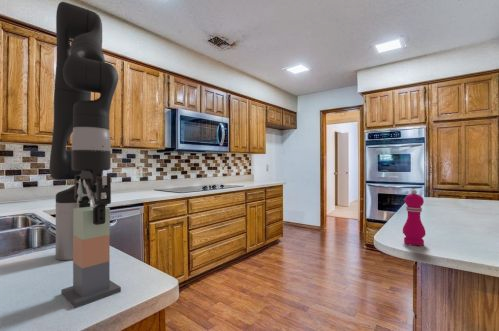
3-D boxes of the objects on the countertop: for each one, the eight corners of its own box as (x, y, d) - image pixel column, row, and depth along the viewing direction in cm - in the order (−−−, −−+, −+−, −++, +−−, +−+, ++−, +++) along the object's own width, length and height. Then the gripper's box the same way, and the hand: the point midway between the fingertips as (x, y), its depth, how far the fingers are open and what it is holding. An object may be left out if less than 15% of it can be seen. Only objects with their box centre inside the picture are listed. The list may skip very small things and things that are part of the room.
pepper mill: (425, 247, 93) (426, 190, 93) (402, 244, 97) (402, 189, 97) (425, 242, 100) (425, 189, 100) (402, 239, 103) (403, 188, 103)
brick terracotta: (73, 262, 59) (73, 235, 59) (99, 255, 64) (99, 230, 64) (82, 268, 56) (82, 239, 56) (109, 261, 60) (109, 234, 60)
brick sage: (73, 235, 60) (73, 208, 59) (99, 230, 64) (99, 205, 64) (82, 239, 56) (82, 211, 56) (109, 234, 60) (109, 208, 60)
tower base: (61, 293, 59) (61, 262, 59) (104, 280, 66) (104, 252, 66) (75, 307, 54) (75, 273, 54) (120, 291, 60) (120, 260, 60)
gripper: (123, 148, 58) (123, 223, 58) (96, 150, 67) (96, 215, 67) (85, 147, 52) (85, 229, 52) (61, 149, 61) (61, 220, 61)
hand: (91, 221), depth 60 cm, fingers open, 8 cm apart
